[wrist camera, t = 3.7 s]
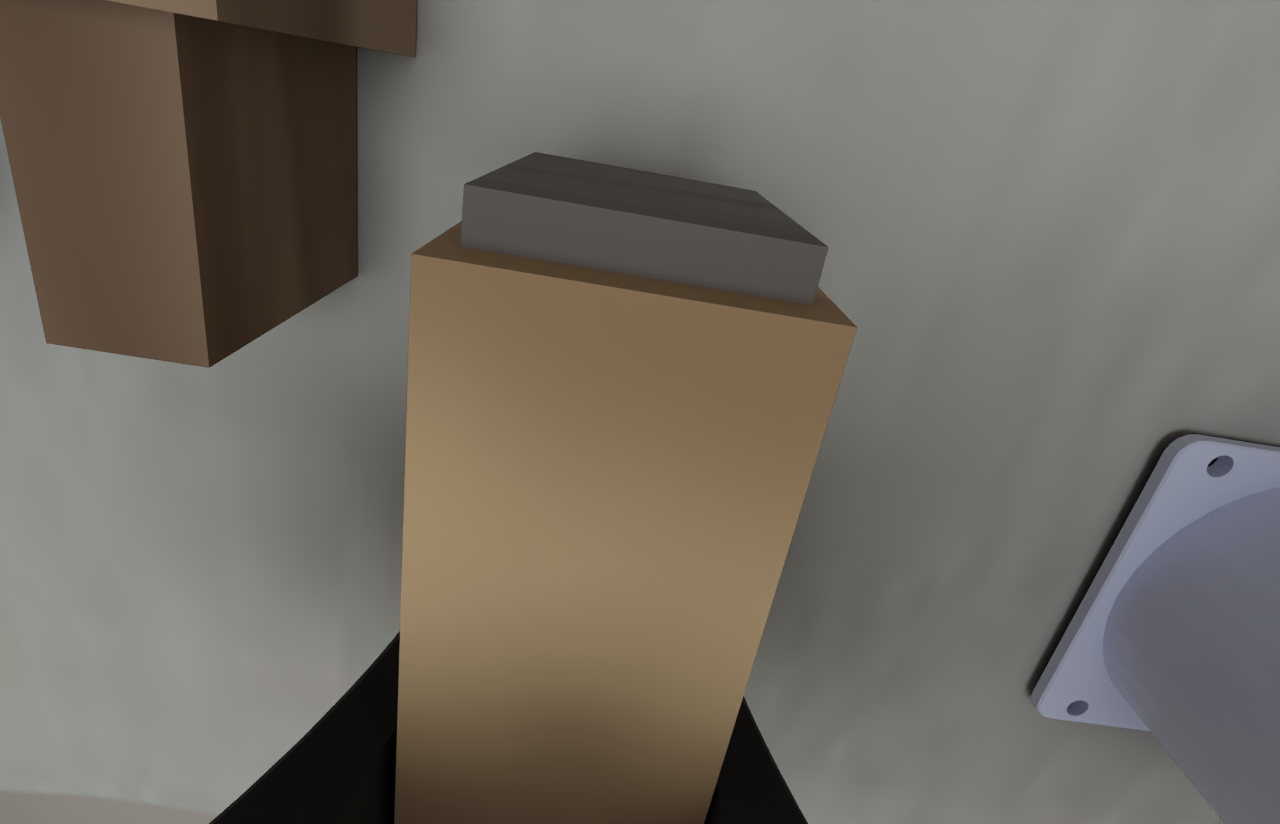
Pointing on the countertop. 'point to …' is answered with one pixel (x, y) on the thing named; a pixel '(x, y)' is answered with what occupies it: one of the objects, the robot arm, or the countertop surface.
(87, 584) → the countertop surface
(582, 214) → the rail
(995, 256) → the countertop surface
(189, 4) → the brown wooden stool
